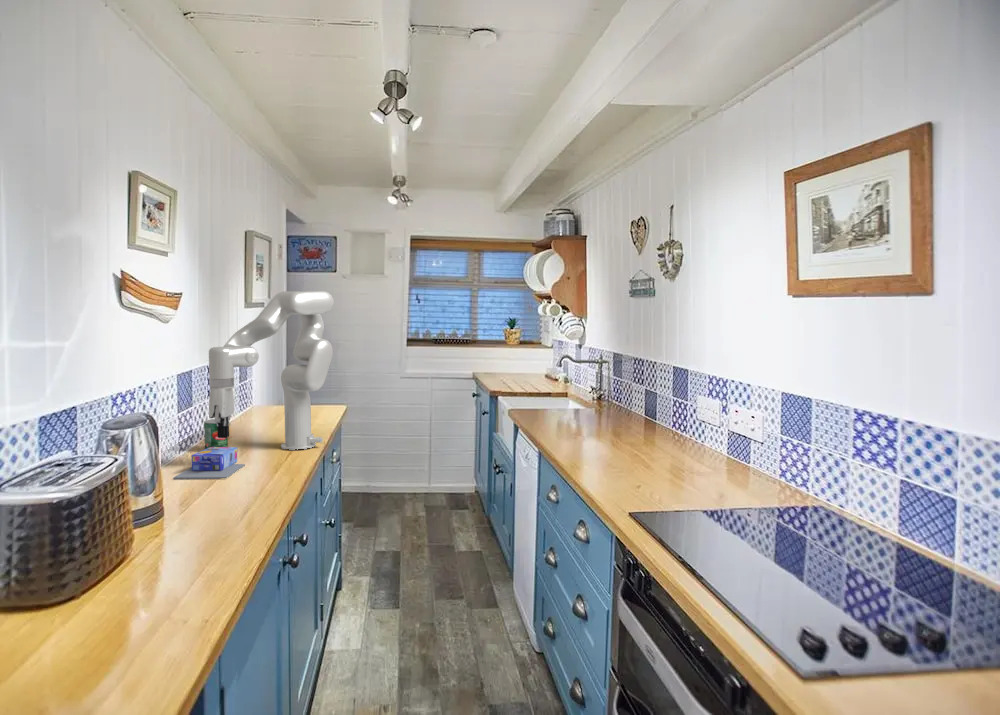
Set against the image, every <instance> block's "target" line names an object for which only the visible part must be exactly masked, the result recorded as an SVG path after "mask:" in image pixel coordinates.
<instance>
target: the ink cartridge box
mask: <svg viewBox="0 0 1000 715" xmlns="http://www.w3.org/2000/svg"><path fill="white" fill-rule="evenodd" d="M237 463H238V446H237V447H233V446H228V447H209V448H207V449H205V448H204V449H203V450H200V451H198V452H196V453H193V454H191V467H192V471H222V470H224V469H225V468H227V467H229V466H231V465H233V464H237Z"/></svg>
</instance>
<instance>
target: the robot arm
mask: <svg viewBox="0 0 1000 715" xmlns="http://www.w3.org/2000/svg"><path fill="white" fill-rule="evenodd" d="M334 305H335V301H334V297H333V296H332V295H331V293H329V292H328V291H326V290H305V291H301V290H300V291H297V290H295V291H293V290H292V291H287V290H286V291H280V292H278V293H276V294H275V295H274V296H273V297H272V298H271V300H270V301H269V302H268V303H267V305H266V306H265V307H264V308H263V309H262V311H261V312H260V313H259V315H257V317H256V318H255V319H253V320H252V321H250V322H248V323H247V324H246V325H244V326H242V327H241V328H239V329H238V330H237V331H236V332H234V333H233V334H232V336H230V337H229V339H228V340H227V341H226V342H225V344H224V345H223V346H213V347H211V348H209V350H208V371H209V372H208V373H209V376H208V377H209V389H210V390H209V396H208V397H209V401H208V416H209V419H215V423H217V430H218V438H227V437H228V438H229V437H230V419H231V417H232V415H234V413H235V402H234V398H235V397H234V388H235V371H234V370H235V369H234V368H250V367H252V366H254V365H256V364H257V363H258V361H259V358H260V356H259V352H258V351H257V349H256V348H255V347H253V345H254V344H255V343H257V342H259V341H262V340H265V339H268V338H270V337H272V336H274V335H276V334H277V333H278V331H279V330H280V329H281V328H282V327H283V325H284V324H285V322H287V320H288V319H289V317H290V316H292V315H294V316H295V315H297V316H298V315H300V316H299V317H300V320H301V326H300V329H299V333H298V336H297V339H296V341H295V345H294V348H293V357H294V359H296V360H297V361H298V362H302V363H307V364H301V363H300V364H298V363H296V364H295V363H294V364H293V363H292V364H290V365H287V366H285V367H284V368H283V370H282V371H281V375H280V381H281V386H282V390H283V391H282V392H283V399H284V400H283V401H284V402H283V403H284V442H283V443H282V444H280V448H281V449H282V450H285V449H289V450H288V451H299V450H298V449H304V450H308V449H307V448H310V449H313V448H315V447H316V446H317V444H316V443H318V444H320V443H323V440H324V438H323V437H321V436H316V437H315V435H314V433H312V409H311V408H312V407H311V406H312V402H311V396H310V392H316V391H318V390H320V389H321V388H322V387H323V385H324V384H325V382H326V380H327V379H326V378H327V376H328V372H329V370H330V369H329V368H330V366H331V364H332V360H333V357H334V353H333V352H334V350H333V345H332V344H331V342H330V341H329V340H328V339H325V338H323V335H324V330H325V323H324V320H323V318H322V314H323V315H324V314H327V313H329V312H331V311H332V309H333V307H334ZM314 446H315V447H314ZM312 447H313V448H312ZM295 449H297V450H295Z"/></svg>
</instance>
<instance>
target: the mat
mask: <svg viewBox="0 0 1000 715" xmlns="http://www.w3.org/2000/svg"><path fill="white" fill-rule="evenodd" d="M243 466H244V467H245V466H246V463H234V464H233V465H231V466H229V467H227V468H225V469H224V470H222V471H192V466H191V467H189V468H187V469H186V470H184V471H182V472H181V473H178V474H177V475H176V476H173V479H172V480H221V479H220V478H227V477H228V478H230V477H231V476H232V474H233V473H234V474H236V473H237V472H238V471H240V470H241V469H243V468H244V467H243ZM242 467H243V468H242ZM240 468H241V469H240ZM239 469H240V470H239ZM237 470H238V471H237ZM236 471H237V472H236ZM235 472H236V473H235ZM234 474H233V475H234ZM230 475H231V476H230ZM229 476H230V477H229ZM228 478H227V479H228Z"/></svg>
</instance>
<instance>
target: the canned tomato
mask: <svg viewBox="0 0 1000 715" xmlns="http://www.w3.org/2000/svg"><path fill="white" fill-rule="evenodd" d="M203 424H204V425H203V427H204V428H203V429H204V450H205V449H207V448H209V447H229V440H228V438H229V437H227V438H218V430H217V423H215V418H210V419H207V420H205V421H204V420H203Z"/></svg>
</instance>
